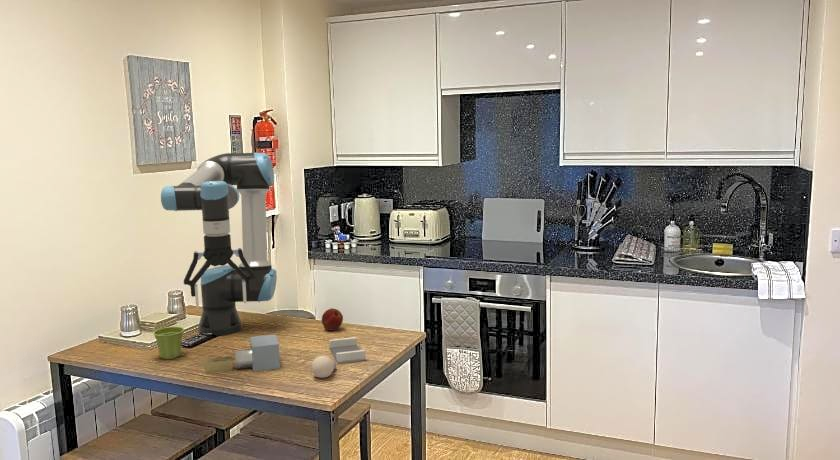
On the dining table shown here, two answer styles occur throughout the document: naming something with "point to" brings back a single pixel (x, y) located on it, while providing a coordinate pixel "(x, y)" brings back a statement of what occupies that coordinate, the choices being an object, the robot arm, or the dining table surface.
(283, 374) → the dining table surface
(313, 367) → the beige ball knob
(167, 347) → the plant pot
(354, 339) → the rest
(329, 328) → the apple
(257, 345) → the block
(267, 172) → the robot arm
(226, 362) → the translucent yellow block
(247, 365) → the silver metal cylinder
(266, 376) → the dining table surface
